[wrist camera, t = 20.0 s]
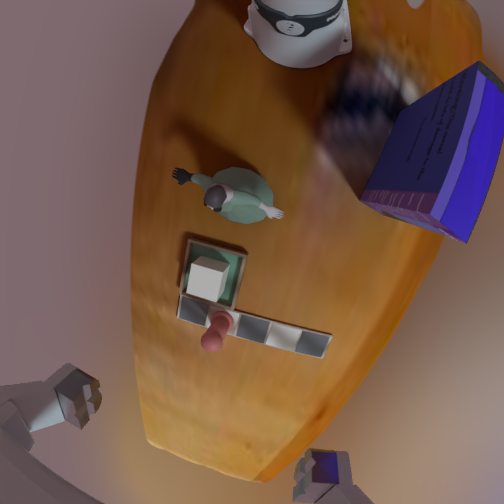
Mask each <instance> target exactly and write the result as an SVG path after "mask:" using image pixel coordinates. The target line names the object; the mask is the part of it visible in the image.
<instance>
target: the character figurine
mask: <svg viewBox="0 0 504 504" xmlns="http://www.w3.org/2000/svg"><path fill="white" fill-rule="evenodd" d="M175 169H177V170H178V171H176V170H173V171H175V172H176V173H177V174H176V173H173V172H172V173H173V174H174V175H176V176H177V177H176V176H173V175H172V176H173V177H174V178H175V179H177V180H178V181H179V183H178V184H180V185H183V184H184V183H185V182H187V181H191V182H194V183H197V184H199V185H200V186H201V188H202V189H203V191H204V192H206V194H205V197H204V205H205V206H206V205H208V206H209V207H211V209H212V210H213V209H214V211H215V212H218V213H219V214H221V215H222V216H224V217H225V218H226V219H228V220H229V221H234V222H239V223H244V224H250V223H254V222H258V221H261V220H263V219H264V218H265V217H266V216H268V217H269V218H271V219H272V217H276V218H279V219H282V218H280V217H283V216H281V215H283V214H282V213H283V211H281V210H279V209H277V208H275V207H273V195H274V194H273V192H272V191H271V189H270V187H269V185H268V183H267V182H266V180H265V179H264V178H262V177H261V176H259V175H258V174H256V173H255V172H253V171H252V170H250V169H244V168H238V167H231V168H227V169H224V170H221V171H218V172H217V173H216V174H215V175H214V177H213V178H211V177H209V176H206V175H205V174H199V173H194V174H190V173H188V172H187V171H186V170H184V169H180V168H175ZM278 211H279V212H278ZM280 212H282V213H280ZM279 214H281V215H279ZM276 215H277V216H276ZM278 216H280V217H278Z"/></svg>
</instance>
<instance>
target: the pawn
mask: <svg viewBox="0 0 504 504" xmlns="http://www.w3.org/2000/svg"><path fill="white" fill-rule="evenodd" d="M210 324H211V325H210V326H209V328H208V330H207V332H206V333H205V334H204V335H203V336H202V338H201V345H202V347H203V348H204V349H205V350H206V351H208V352H217V351H218V350H220V349H221V347H222V345H223V340H224V338H225V335H226V333H227V332H229V331H230V330H231V329H232V327H233V324H234V320H233V317H232V316H231V315H230V314H229V313H228V312H226V311H217V312H215V313H214V314H213V316H212V317H211V320H210Z"/></svg>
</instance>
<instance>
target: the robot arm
mask: <svg viewBox="0 0 504 504" xmlns="http://www.w3.org/2000/svg"><path fill="white" fill-rule="evenodd" d="M248 14H249V18H248V20H247V21H246V23H245V24H244V31H245V32H246V33H247V34H248V35H249V36H251V37H252V38H254V40H255V41H256V43H257V45H258V47H259V49H260V50H261V51H262V53H263V54H264V55H265V56H267V57H268V58H269V59H271V60H272V61H274V62H276V63H278V64H281V65H284V66H288V67H293V68H310V67H315V66H319V65H321V64H324V63H326V62H327V61H329V60H330V59H332V58H333V57H335V56H337V55H342V54H347V53H349V52H351V50H352V38H351V28H350V20H349V12H348V5H347V0H252V3H251V5H249V6H248ZM343 40H344V41H346V42H343ZM99 387H100V383H99V380H97V379H95V378H93V377H92V376H90V375H88V374H87V373H85V372H83V371H82V370H80V369H79V368H77V367H75V366H74V365H72V364H70V363H66V364H65V365H63V366H62V367H61V368H60V369H59V370H57V371H56V372H55V373H54V374H53V375H52V376H50V377H49V378H48V379H47V380H46V381H45V382H43V381H35V382H28V383H21V384H13V385H5V386H0V504H104V503H102V502H101V501H99V500H97V499H95V498H93V497H92V496H90V495H88V494H86V493H85V492H83V491H82V490H80V489H78V488H77V487H75V486H74V485H72V484H71V483H69V482H68V481H66V480H64V479H63V478H62V477H60V476H59V475H58V474H56V473H55V472H53V471H52V470H51V469H49V468H48V467H47V466H45V465H44V464H43V463H41V462H40V461H39V460H38V459H36V458H35V457H34V456H33V455H32V454H30V453H29V451H30V449H31V448H32V447H33V446H34V445H35V441H34V439H33V437H32V435H31V434H30V432H32V431H35V430H39V429H41V428H45V427H48V426H51V425H54V424H57V423H60V422H63V421H65V420H66V421H68V422H69V423H71V424H73V425H74V426H76V427H78V428H79V429H82V428H83V427H84V426H85V425H86V424H87V423H88V421H89V420H90V418H89V415H91V414H94V413H96V412H97V410H98V409H99V407H100V405H101V401H102V395H101V393H100V392H99V390H98V388H99ZM294 480H295V481H296V482H297V484H296V486H295V487H294V488H293V501H294V502H303V503H314V504H374V503H373V502H372V501H371V500H370V499H369V498H368V497H367V496H366V495H365V494H364V493H363V492H362V491H361V489H360V488H359V487H358V486H357V485H353V482H352V474H351V467H350V460H349V454H348V452H345V451H334V450H323V449H313V448H309V449H307V451H306V452H305V457H304V458H301V459H300V460H299V462H298V463H297V465H296V468H295V472H294Z"/></svg>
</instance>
